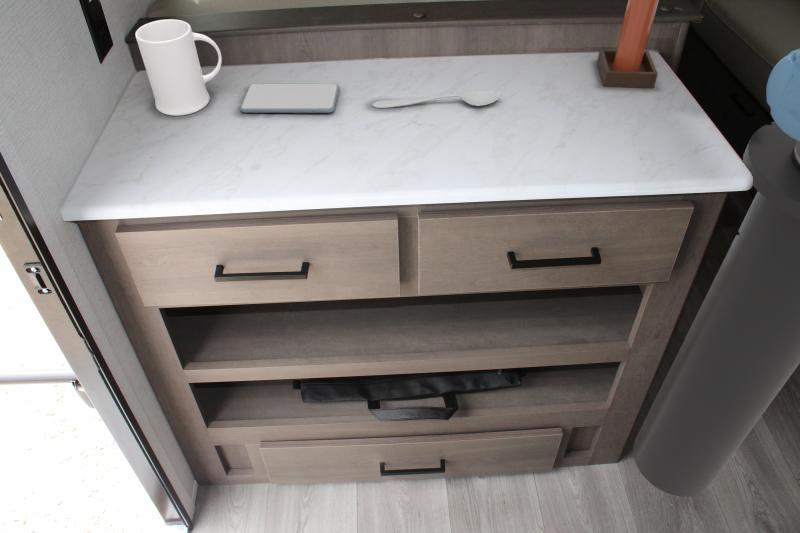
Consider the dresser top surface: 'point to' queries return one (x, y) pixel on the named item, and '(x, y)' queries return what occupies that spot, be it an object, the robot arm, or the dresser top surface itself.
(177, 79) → the mug
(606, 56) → the tray
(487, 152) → the dresser top surface
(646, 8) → the orange hollow tube
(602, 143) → the dresser top surface
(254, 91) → the smartphone
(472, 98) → the spoon
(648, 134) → the dresser top surface
